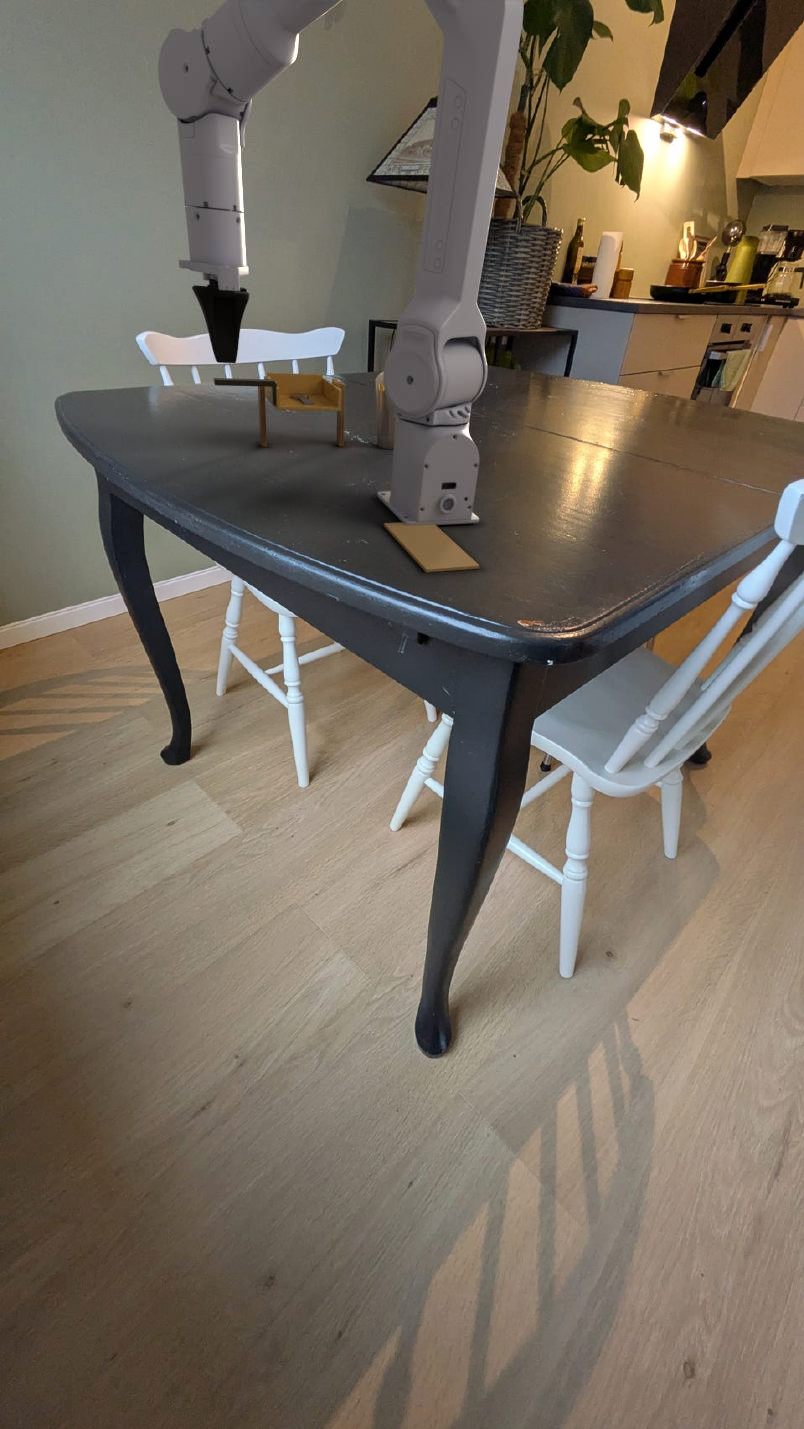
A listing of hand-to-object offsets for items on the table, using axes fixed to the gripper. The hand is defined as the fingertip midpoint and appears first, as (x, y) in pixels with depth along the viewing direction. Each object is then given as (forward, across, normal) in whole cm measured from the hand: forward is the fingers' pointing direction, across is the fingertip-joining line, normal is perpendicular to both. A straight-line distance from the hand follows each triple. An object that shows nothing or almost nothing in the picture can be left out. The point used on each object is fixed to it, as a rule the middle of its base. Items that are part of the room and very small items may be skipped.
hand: (225, 362), depth 72 cm
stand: (+10, -3, +10) cm, 14 cm away
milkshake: (+10, -3, +22) cm, 24 cm away
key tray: (+5, -4, +6) cm, 9 cm away
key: (+4, -3, +10) cm, 11 cm away
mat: (+10, +32, +13) cm, 36 cm away
